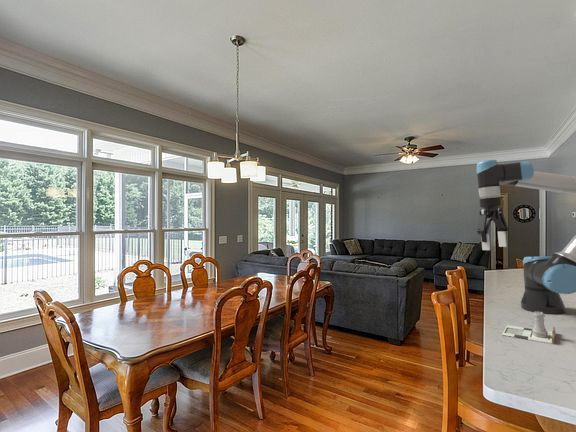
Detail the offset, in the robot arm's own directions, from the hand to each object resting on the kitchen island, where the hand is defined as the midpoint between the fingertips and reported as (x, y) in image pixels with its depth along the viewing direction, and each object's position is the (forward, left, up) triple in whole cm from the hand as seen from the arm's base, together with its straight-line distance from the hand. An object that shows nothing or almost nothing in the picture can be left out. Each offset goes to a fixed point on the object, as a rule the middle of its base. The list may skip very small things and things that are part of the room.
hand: (494, 248), depth 132 cm
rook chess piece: (+12, +19, -28) cm, 36 cm away
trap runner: (+13, +16, -28) cm, 35 cm away
